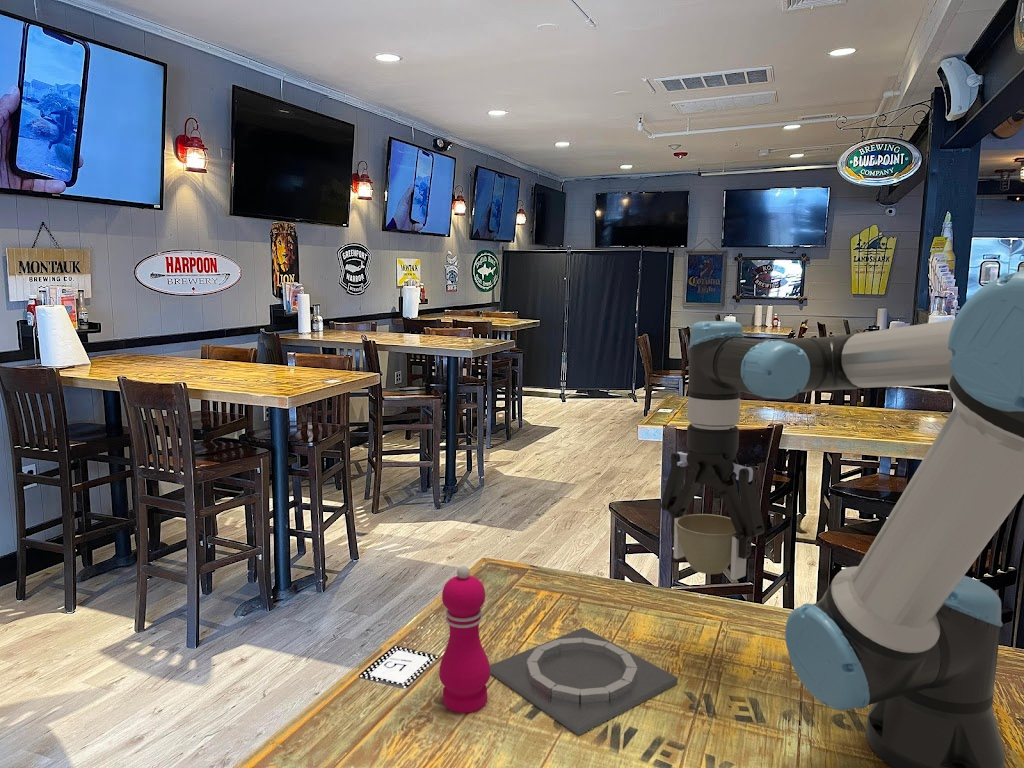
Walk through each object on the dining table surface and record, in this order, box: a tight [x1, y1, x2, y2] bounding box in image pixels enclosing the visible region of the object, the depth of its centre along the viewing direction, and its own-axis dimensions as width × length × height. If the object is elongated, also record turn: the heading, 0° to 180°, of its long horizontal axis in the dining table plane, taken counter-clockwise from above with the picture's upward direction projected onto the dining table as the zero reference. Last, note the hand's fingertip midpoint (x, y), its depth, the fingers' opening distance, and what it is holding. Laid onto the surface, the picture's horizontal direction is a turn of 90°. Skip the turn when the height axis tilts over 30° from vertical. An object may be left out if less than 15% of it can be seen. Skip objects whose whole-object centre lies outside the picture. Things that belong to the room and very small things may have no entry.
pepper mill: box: [438, 565, 491, 714], centre depth 103 cm, size 7×7×20 cm
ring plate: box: [490, 627, 679, 737], centre depth 110 cm, size 20×20×2 cm
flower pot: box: [676, 513, 737, 575], centre depth 112 cm, size 10×10×7 cm
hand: (708, 566), depth 113 cm, fingers closed on flower pot, 10 cm apart
